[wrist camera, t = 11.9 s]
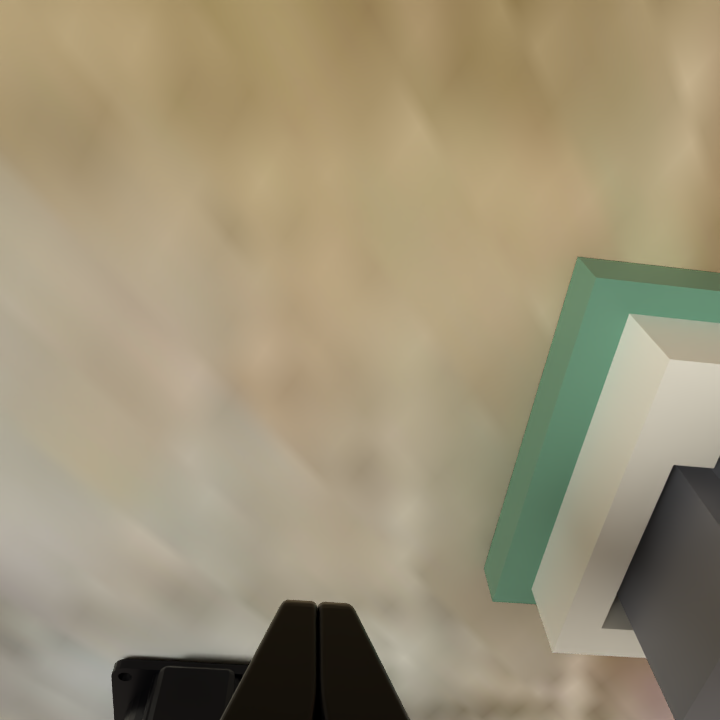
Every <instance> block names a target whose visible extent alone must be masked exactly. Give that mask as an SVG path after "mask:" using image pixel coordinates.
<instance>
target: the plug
mask: <svg viewBox="0 0 720 720" xmlns="http://www.w3.org/2000/svg"><path fill="white" fill-rule="evenodd" d="M617 596H618V598H619V600H620V602H621V605H622V607H623V609H624V611H625V613H626V615H627V617H628V620H629V622H630V624H631V626H632V628H633V630H634V633H635V635H636V637H637V639H638V641H639V643H640V645H641V648H642V650H643V652H644V654H645V656H646V658H647V661H648V663H649V665H650V667H651V669H652V671H653V673H654V676H655V678H656V680H657V682H658V684H659V686H660V689H661V691H662V693H663V695H664V697H665V699H666V701H667V704H668V706H669V708H670V710H671V712H672V714H673V717H674V719H675V720H720V456H719V458H718V460H717V463H716V465H715V467H714V468H704V467H692V466H680V465H673V467H672V469H671V472H670V474H669V476H668V479H667V481H666V483H665V485H664V488H663V490H662V492H661V494H660V497H659V499H658V501H657V503H656V506H655V508H654V510H653V513H652V515H651V517H650V519H649V522H648V524H647V526H646V528H645V531H644V533H643V535H642V537H641V540H640V542H639V544H638V547H637V549H636V551H635V553H634V556H633V558H632V560H631V562H630V565H629V567H628V569H627V571H626V574H625V576H624V578H623V581H622V583H621V585H620V587H619V590H618V592H617Z"/></svg>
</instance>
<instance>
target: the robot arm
mask: <svg viewBox="0 0 720 720" xmlns="http://www.w3.org/2000/svg"><path fill="white" fill-rule="evenodd" d="M111 677H112V692H113V706H114V720H410V719H409V717H408V715H407V713H406V711H405V709H404V707H403V705H402V703H401V701H400V699H399V697H398V695H397V693H396V691H395V689H394V687H393V685H392V683H391V681H390V679H389V677H388V675H387V673H386V671H385V669H384V667H383V665H382V663H381V661H380V659H379V657H378V655H377V653H376V651H375V649H374V647H373V645H372V643H371V641H370V639H369V637H368V635H367V633H366V631H365V629H364V627H363V625H362V623H361V621H360V619H359V617H358V615H357V613H356V611H355V609H354V608H353V607H352V606H351V605H350V604H347V603H334V602H322V603H320V604H319V605H318V607H317V605H316V603H314V602H312V601H300V600H286V601H284V602H283V603H282V604H281V606H280V607H279V609H278V611H277V613H276V615H275V617H274V619H273V620H272V622H271V624H270V626H269V628H268V630H267V632H266V634H265V636H264V637H263V639H262V641H261V643H260V645H259V647H258V649H257V651H256V653H255V655H254V656H253V658H252V660H251V662H250V664H249V665H232V664H212V663H193V662H174V661H154V660H135V659H122V660H119V661H117V662H116V663H115V666H114V669H113V672H112V676H111Z"/></svg>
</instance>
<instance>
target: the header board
mask: <svg viewBox="0 0 720 720" xmlns="http://www.w3.org/2000/svg"><path fill="white" fill-rule="evenodd" d="M719 456H720V273H715V272H706V271H698V270H689V269H680V268H671V267H663V266H654V265H645V264H636V263H628V262H619V261H610V260H601V259H593V258H584V257H578V258H577V261H576V264H575V268H574V271H573V274H572V278H571V281H570V284H569V288H568V291H567V294H566V298H565V301H564V304H563V308H562V311H561V314H560V318H559V321H558V324H557V328H556V331H555V334H554V338H553V341H552V344H551V347H550V351H549V354H548V357H547V361H546V364H545V367H544V371H543V374H542V377H541V381H540V384H539V387H538V391H537V394H536V397H535V401H534V404H533V407H532V411H531V414H530V417H529V421H528V424H527V427H526V430H525V434H524V437H523V440H522V444H521V447H520V450H519V454H518V457H517V460H516V464H515V467H514V470H513V474H512V477H511V480H510V484H509V487H508V490H507V494H506V497H505V500H504V504H503V507H502V510H501V514H500V517H499V520H498V523H497V527H496V530H495V533H494V537H493V540H492V543H491V547H490V550H489V553H488V557H487V560H486V563H485V567H484V571H485V574H486V578H487V582H488V586H489V590H490V594H491V598H492V601H493V602H509V603H525V604H537V608H538V611H539V614H540V617H541V620H542V623H543V626H544V629H545V632H546V635H547V638H548V641H549V644H550V647H551V650H552V653H567V654H585V655H603V656H621V657H639V658H646V656H645V654H644V652H643V650H642V648H641V645H640V643H639V641H638V639H637V637H636V635H635V633H634V630H633V628H632V626H631V624H630V622H629V620H628V617H627V615H626V613H625V611H624V609H623V607H622V605H621V602H620V600H619V598H618V596H617V592H618V590H619V587H620V585H621V583H622V581H623V578H624V576H625V574H626V571H627V569H628V567H629V565H630V562H631V560H632V558H633V556H634V553H635V551H636V549H637V547H638V544H639V542H640V540H641V537H642V535H643V533H644V531H645V528H646V526H647V524H648V522H649V519H650V517H651V515H652V513H653V510H654V508H655V506H656V503H657V501H658V499H659V497H660V494H661V492H662V490H663V488H664V485H665V483H666V481H667V479H668V476H669V474H670V472H671V469H672V467H673V465H680V466H692V467H704V468H714V467H715V465H716V463H717V460H718V458H719Z"/></svg>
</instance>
